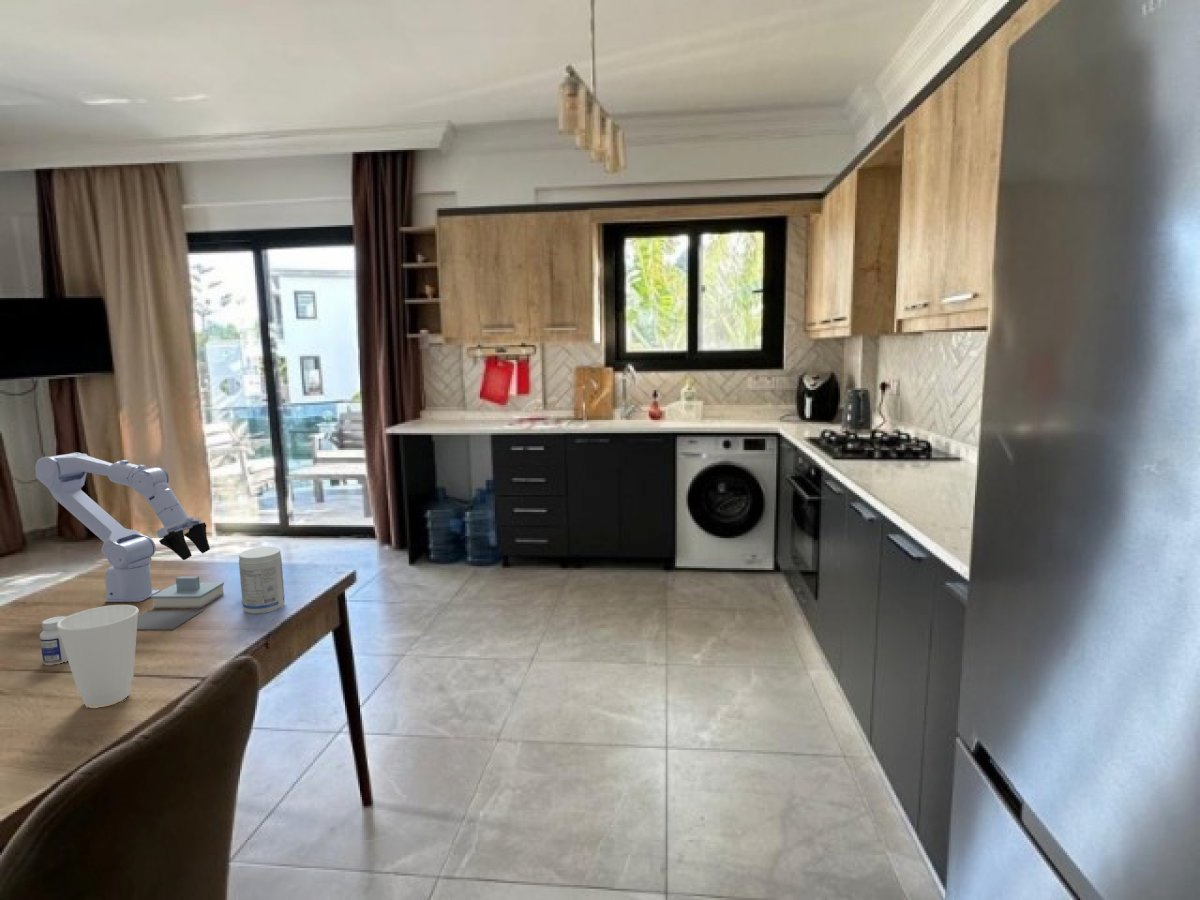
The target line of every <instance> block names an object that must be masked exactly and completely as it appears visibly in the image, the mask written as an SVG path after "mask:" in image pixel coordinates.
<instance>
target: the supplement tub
mask: <svg viewBox="0 0 1200 900" xmlns="http://www.w3.org/2000/svg"><path fill="white" fill-rule="evenodd" d="M238 565H239V566H238V567H239V569H238V570H239V579H240V590H241V591H240V592H241V602H242V610H243V611H244V612H245V613H248V614H253V615H254V614H255V615H257V614H258V615H259V614H267V613H271V612H274V611H277V610H278V608H279V609H281V608H282V607H283V606H284V604H285V602H286V601H285V600H286V599H285V588H284V587H285V586H284V574H283V572H284V571H283V561H282V554H281V549H280V548H278V547H273V546H263V547H262V546H261V547H255V548H250V549H247V550H243V551H241V552H240V553H239V554H238ZM266 612H267V613H266Z"/></svg>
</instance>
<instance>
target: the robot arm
mask: <svg viewBox="0 0 1200 900" xmlns="http://www.w3.org/2000/svg"><path fill="white" fill-rule="evenodd" d="M34 469H35V479H37V480H38V481H39V482H41V483H42V485H44V486H45V487H46V488H47V489H48V491H49V492H50V493H51V495H52V497H53V498H54V500H56V501H57V502H58V503H59V504H60V505H61V506H62V507H64V509H66V510H67V511H68V513H70V514H71V515H72V516H73V517H74V518H76V519H77V521H80V523H82V524H83V526H85V527H86V528H87V529H89V531H90V532H92V533H93V534H94V535H95V536H96V537H98V539H99V540H101V541H102V542H103V544H102V547H101V551H100V552H101V553H102V554H103V555H104V556H105V558H106V559H107V562H108V563H109V564H110V566H109V567H108V568H107V570H106V572H105V576H104V581H105V591H106V599H104V601H105V602H106V603H109V602H110V603H112V602H113V603H114V602H115V603H116V602H117V603H118V602H119V603H124V602H125V603H127V602H128V603H131V602H133V603H136V602H137V603H138V602H140V603H141V602H143V601H145V600H147V599H149V598H151V596H153V595H155V594H157V593H158V592H160V591H161V589H153V584H152V582H153V581H152V574H151V573H152V572H151V564H150V562H151V561H152V557H153V556H154V555H155V553H156V549H157V548H156V544H155V541H154V540H153V539H152V537H149V536H148V535H144V534H142V533H141V532H140V531H139V530H135V529H129V528H126V527H124V526H123V525H122V524H120V522H118V520H116V519H115V518H114V517H113V516H111V515H110V514H109V512H107V511H106V510H105V509H103V507H101V506H100V505H99V504H98V503H97V502H96V501H94V499H92V498H91V497H90V496H88V494H87V493H86V492H84V491H83V490H82V488H83V486H85V482H86V478H87V474H88V473H89V474H93V475H100V476H106V477H107V479H109V481H110V482H112V483H115V484H119V485H123V486H126V487H131V488H132V489H133V490H134V491H135V492H136V493H139V494H140V495H141V496H142V497H143V498H144V500H145V499H146V500H147V501H148V503H149V504H150V507H151V508H152V509H153V511H154V513H155V514H156V516H157V517H158V519H159V521H160V522H161V524H162V525H163V527H162V528H160V529H158V530H156V531H155V533H156V535H157V536H158V537H159V539H160V540H159V544H160V545H162V546H165V547H166V548H167V549H170V550H171V551H172V552H174V554H176V555H177V556H178V557H179V558H180V559H182V560H183V561H185V560H187V559H189V558H191V557H193V556H192V551H191V549H190V548H189V545H188V543H187V542H186V539H185V537H186V538H188V539H189V540H190V541H191V542H192V543H193V544H194V545H195V548H197V550H198V551H199V552H200V553H201V554H205V553H206V552H208V551H210V550H211V547H210V544H209V540H208V537H207V524H206V522H202V520H201V519H200V518H199V517H197V518H195V517H194V516H189V515H188V514H187V512H186V511H185V509H184V507H183V506H182V503H180V501H179V500H178V497H176V495H175V493H174V492H173V489H172V488H171V486H170V485H169V481H170V476H169V474H168V472H167V471H166V469H165V468H162V467H160V466H159V465H157V466H152V467H150V468H149V467H146V465H145V464H134V463H130V460H128V459H123V460H121V459H120V460H118V461H115V462H114V463H111V462H108V461H106V460H103V459H99V458H96V457H93V456H89V454H87V453H81V452H76V451H74V452H71V453H65V454H58V455H52V456H42V457H40V458H38V460H37V461H36V462H35V467H34ZM186 530H187V532H186V533H184V531H186Z"/></svg>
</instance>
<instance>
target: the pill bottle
mask: <svg viewBox="0 0 1200 900" xmlns="http://www.w3.org/2000/svg"><path fill="white" fill-rule="evenodd" d="M65 617H66V616H64V615H63V616H53V617H49V618H47V619H44V620H43V621H42V622H41V625H42V626H41V627H42V630H43V631H41V633H40V634H39V641H40V649H41V657H42V664H44V666H54V665H53V664H57V665H61V664H60V663H62V664H64V663H63V662H65V663H67V661H68V658H67V655H66V652H65V649H64V646H63V643H62V639H61V636H60V633H59V630H58V628H57V624H58V622H59V621H60V620H62V619H63V618H65Z"/></svg>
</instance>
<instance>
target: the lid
mask: <svg viewBox="0 0 1200 900" xmlns="http://www.w3.org/2000/svg"><path fill="white" fill-rule="evenodd" d="M222 585H223V586H224V585H225V582H224V581H223V582H219V581H218V582H217V581H216V582H211V581H210V582H208V581H207V582H200V576H198V575H195V576H192V575H191V576H189V575H187V576H186V575H185V576H184V575H183V576H182V575H181V576H177V577H176V578H175V583H174V584H172V585H170V586H168V587H166V588H165V589H162V590H160V592H158V593H156V594H155V595H153V596H151V597H150V598H151V600H153V599H191V598H202V597H204V596H205V595H207V594H209V593H211V592H212V591H214V590H216V589H217V588H219V587H221V586H222Z"/></svg>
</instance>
